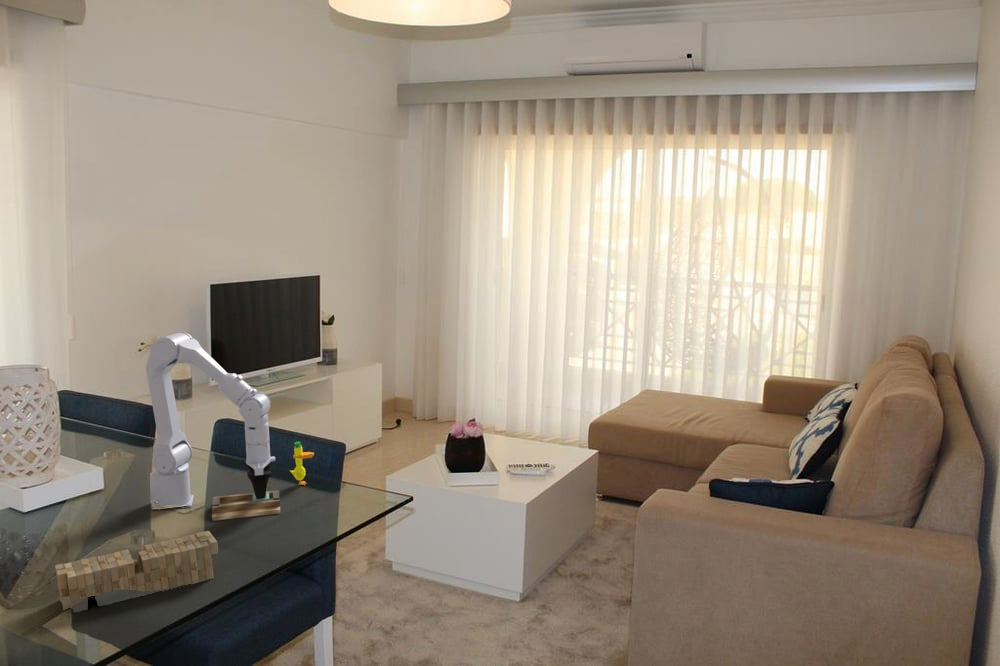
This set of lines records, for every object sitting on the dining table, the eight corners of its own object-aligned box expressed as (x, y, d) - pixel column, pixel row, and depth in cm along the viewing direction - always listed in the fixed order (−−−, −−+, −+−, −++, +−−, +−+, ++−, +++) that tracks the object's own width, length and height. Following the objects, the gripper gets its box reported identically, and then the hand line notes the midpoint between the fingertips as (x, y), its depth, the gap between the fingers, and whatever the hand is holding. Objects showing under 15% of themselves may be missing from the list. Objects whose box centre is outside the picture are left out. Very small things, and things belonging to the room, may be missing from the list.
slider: (252, 507, 210) (251, 486, 209) (252, 500, 215) (251, 480, 214) (269, 505, 211) (268, 485, 210) (269, 498, 216) (268, 478, 215)
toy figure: (314, 481, 232) (312, 438, 230) (316, 485, 228) (314, 442, 227) (289, 483, 230) (287, 441, 228) (290, 488, 226) (288, 445, 224)
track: (212, 520, 204) (211, 509, 204) (214, 503, 215) (213, 493, 215) (280, 513, 208) (279, 502, 208) (279, 496, 220) (278, 486, 219)
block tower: (64, 621, 158) (222, 578, 174) (58, 580, 157) (218, 539, 172) (60, 604, 165) (212, 564, 180) (54, 564, 163) (208, 527, 179)
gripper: (274, 448, 204) (277, 502, 206) (273, 432, 218) (276, 483, 220) (244, 451, 202) (247, 505, 205) (245, 435, 216) (248, 485, 218)
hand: (260, 494), depth 212 cm, fingers open, 6 cm apart
